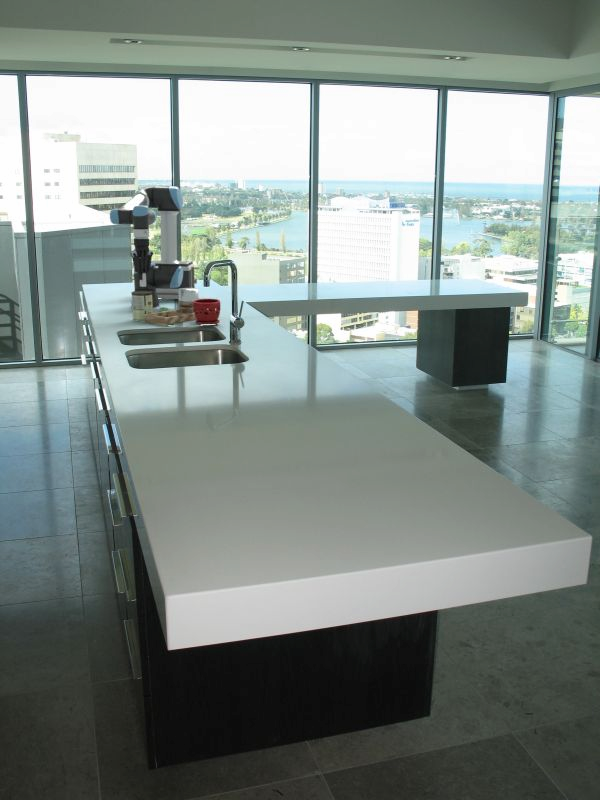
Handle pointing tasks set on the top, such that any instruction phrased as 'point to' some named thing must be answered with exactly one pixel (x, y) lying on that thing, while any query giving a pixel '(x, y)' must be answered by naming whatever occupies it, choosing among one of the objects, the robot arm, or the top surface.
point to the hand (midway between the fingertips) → (143, 286)
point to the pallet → (168, 317)
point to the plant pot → (206, 311)
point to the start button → (164, 309)
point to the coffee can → (141, 304)
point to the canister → (187, 299)
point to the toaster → (187, 282)
